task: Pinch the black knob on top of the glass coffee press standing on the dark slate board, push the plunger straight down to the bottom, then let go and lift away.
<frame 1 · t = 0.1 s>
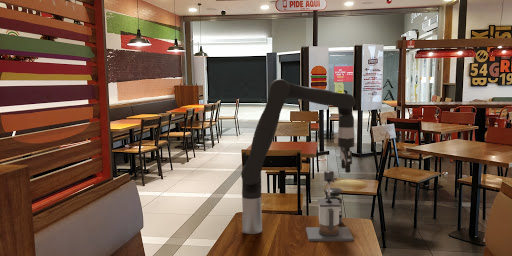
hand: (345, 170, 191), 29 cm above the table, fingers open, 8 cm apart
french press: (331, 222, 206), on the table
slate board: (328, 235, 189), on the table
plunger: (328, 187, 186), point 23 cm above the table, slide at 0.0 cm
carafe: (328, 232, 189), resting on slate board
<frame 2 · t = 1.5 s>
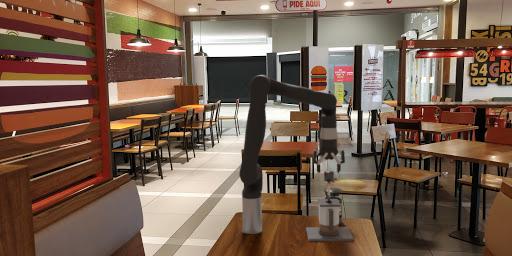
hand: (328, 172, 185), 30 cm above the table, fingers open, 8 cm apart
nothing on the table moved.
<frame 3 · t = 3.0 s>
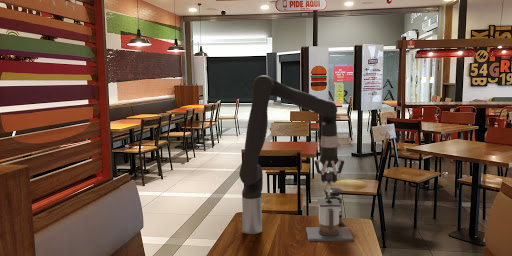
hand: (329, 181, 186), 25 cm above the table, fingers closed on plunger, 4 cm apart
plunger: (328, 187, 186), point 23 cm above the table, slide at 0.0 cm, touching gripper
everything else where it was.
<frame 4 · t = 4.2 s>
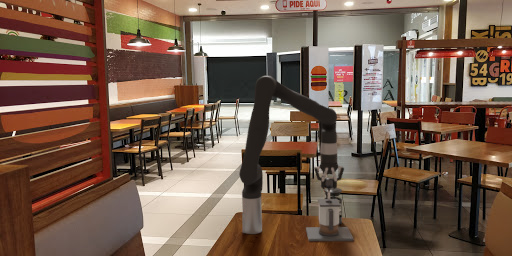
hand: (329, 188, 186), 22 cm above the table, fingers closed on plunger, 4 cm apart
plunger: (328, 194, 186), point 20 cm above the table, slide at 3.2 cm, touching gripper
everything else where it was.
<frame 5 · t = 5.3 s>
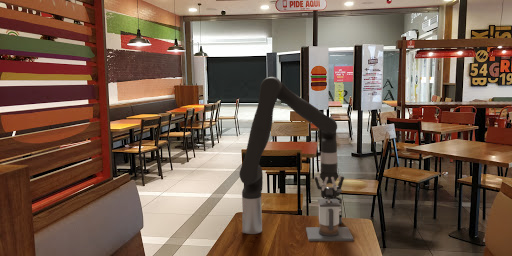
hand: (328, 197, 187), 18 cm above the table, fingers closed on plunger, 4 cm apart
plunger: (328, 203, 187), point 15 cm above the table, slide at 7.5 cm, touching gripper
everything else where it was.
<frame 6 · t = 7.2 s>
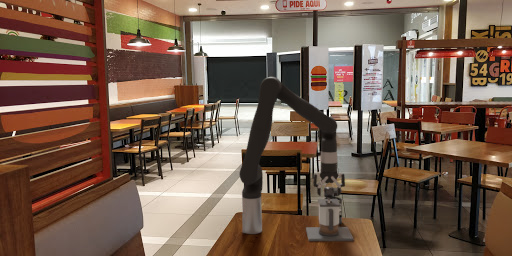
hand: (328, 195, 187), 19 cm above the table, fingers open, 8 cm apart
plunger: (328, 203, 187), point 15 cm above the table, slide at 7.5 cm
everything else where it was.
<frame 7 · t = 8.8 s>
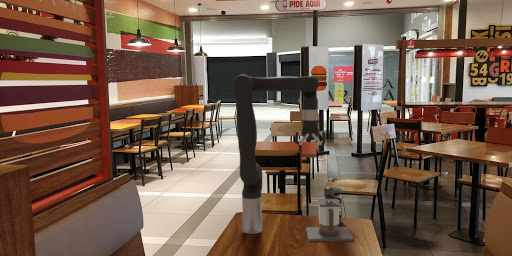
hand: (310, 152, 192), 38 cm above the table, fingers open, 8 cm apart
nothing on the table moved.
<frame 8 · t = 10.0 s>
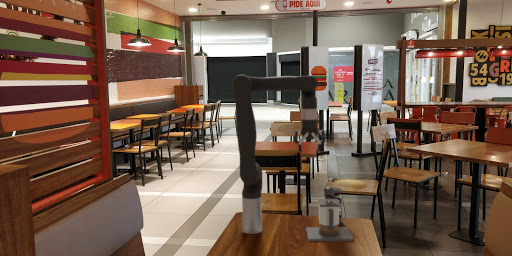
hand: (309, 152, 192), 38 cm above the table, fingers open, 8 cm apart
nothing on the table moved.
at the end: plunger slide at 7.5 cm; the gripper is holding nothing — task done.
